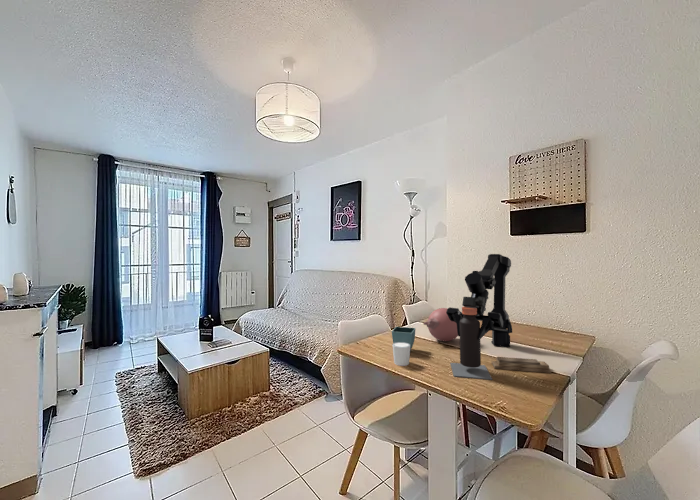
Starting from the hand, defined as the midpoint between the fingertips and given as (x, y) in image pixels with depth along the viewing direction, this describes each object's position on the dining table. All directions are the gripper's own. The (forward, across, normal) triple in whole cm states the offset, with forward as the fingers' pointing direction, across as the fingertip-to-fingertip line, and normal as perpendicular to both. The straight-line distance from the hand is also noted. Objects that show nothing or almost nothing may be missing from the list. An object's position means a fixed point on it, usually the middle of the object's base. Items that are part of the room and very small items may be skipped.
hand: (468, 337), depth 104 cm
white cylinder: (+14, -23, +4) cm, 27 cm away
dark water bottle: (+6, 0, +8) cm, 10 cm away
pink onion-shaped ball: (-11, -23, +29) cm, 39 cm away
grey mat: (+8, 0, +9) cm, 12 cm away
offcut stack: (-2, +13, +20) cm, 24 cm away
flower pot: (+4, -30, +13) cm, 33 cm away
